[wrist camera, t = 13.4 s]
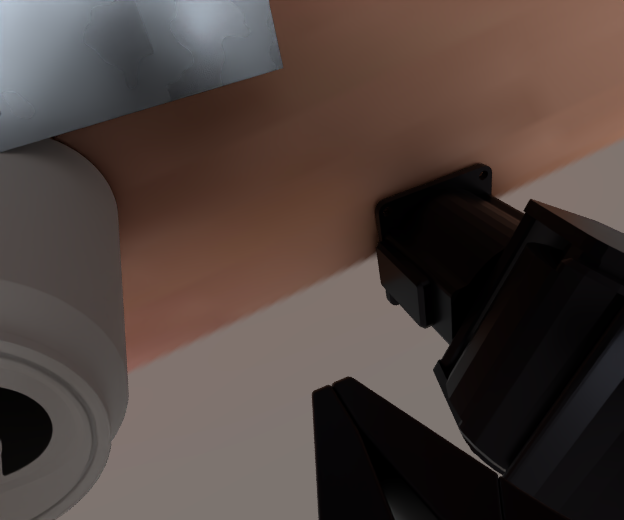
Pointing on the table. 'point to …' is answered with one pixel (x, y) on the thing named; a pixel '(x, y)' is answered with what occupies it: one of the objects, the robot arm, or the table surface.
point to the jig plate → (120, 58)
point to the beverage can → (57, 329)
